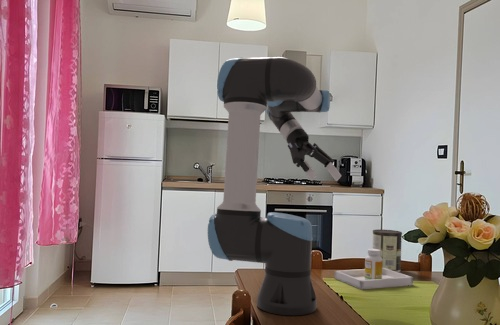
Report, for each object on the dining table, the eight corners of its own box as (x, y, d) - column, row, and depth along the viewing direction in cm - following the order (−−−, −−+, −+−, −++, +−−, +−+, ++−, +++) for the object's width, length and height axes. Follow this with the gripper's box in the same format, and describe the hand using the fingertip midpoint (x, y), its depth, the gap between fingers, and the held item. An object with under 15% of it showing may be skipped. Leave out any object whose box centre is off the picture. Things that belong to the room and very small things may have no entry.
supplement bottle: (381, 278, 148) (382, 249, 148) (381, 282, 143) (382, 251, 143) (364, 277, 149) (365, 247, 150) (364, 280, 144) (365, 250, 144)
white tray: (361, 289, 136) (361, 281, 136) (334, 278, 148) (334, 270, 148) (412, 285, 144) (413, 277, 144) (383, 275, 156) (383, 267, 156)
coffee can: (388, 266, 172) (389, 229, 172) (406, 272, 163) (408, 232, 163) (365, 267, 168) (366, 229, 169) (383, 273, 159) (384, 233, 159)
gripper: (310, 144, 175) (341, 185, 163) (265, 140, 157) (296, 185, 146) (322, 130, 171) (354, 171, 160) (276, 124, 154) (309, 169, 143)
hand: (326, 178), depth 153 cm, fingers open, 13 cm apart
